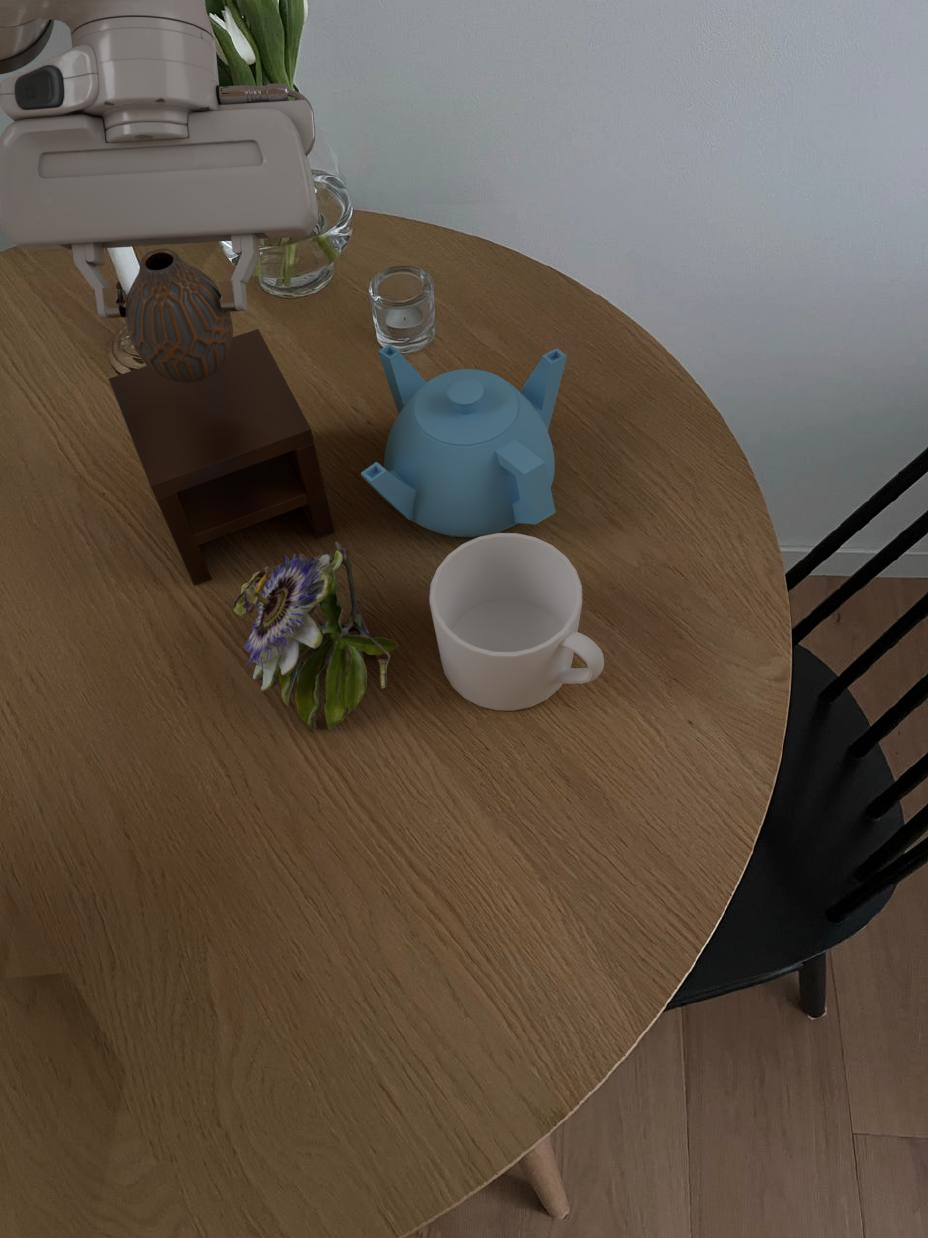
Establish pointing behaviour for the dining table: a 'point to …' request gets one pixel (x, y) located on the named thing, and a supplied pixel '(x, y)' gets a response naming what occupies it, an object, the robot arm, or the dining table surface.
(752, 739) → the dining table surface
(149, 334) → the vase
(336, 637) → the passion flower
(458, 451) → the teapot
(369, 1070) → the dining table surface
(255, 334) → the stand
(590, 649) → the mug
